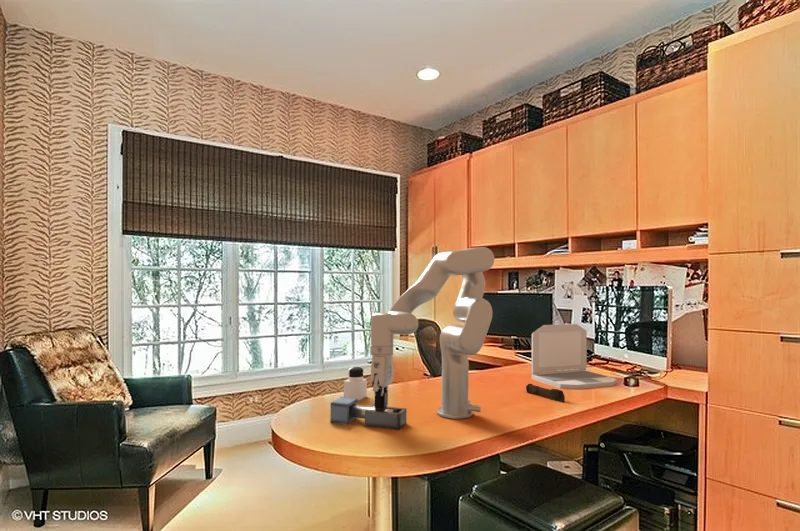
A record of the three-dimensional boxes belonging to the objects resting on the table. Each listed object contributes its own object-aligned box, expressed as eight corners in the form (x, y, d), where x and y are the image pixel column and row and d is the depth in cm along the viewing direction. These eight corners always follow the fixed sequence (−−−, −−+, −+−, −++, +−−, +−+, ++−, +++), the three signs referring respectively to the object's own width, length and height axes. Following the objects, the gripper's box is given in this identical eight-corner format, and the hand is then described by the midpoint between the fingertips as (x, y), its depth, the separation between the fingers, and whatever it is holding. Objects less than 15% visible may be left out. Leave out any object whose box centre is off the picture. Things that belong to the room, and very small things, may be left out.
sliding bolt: (394, 420, 152) (394, 392, 152) (390, 423, 148) (390, 394, 148) (355, 415, 156) (355, 388, 156) (350, 418, 152) (351, 391, 153)
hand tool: (525, 393, 196) (525, 382, 197) (532, 392, 198) (532, 381, 198) (559, 404, 180) (559, 392, 180) (566, 403, 181) (566, 391, 182)
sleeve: (406, 423, 152) (406, 408, 152) (399, 430, 145) (400, 414, 145) (372, 419, 156) (372, 405, 156) (364, 426, 149) (364, 410, 149)
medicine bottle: (366, 396, 186) (367, 366, 187) (359, 400, 180) (360, 370, 180) (350, 394, 189) (351, 365, 189) (343, 399, 182) (343, 368, 182)
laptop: (566, 391, 201) (566, 330, 202) (531, 379, 224) (531, 325, 224) (623, 385, 213) (623, 328, 214) (584, 375, 236) (584, 323, 237)
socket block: (356, 417, 158) (357, 398, 158) (346, 424, 150) (347, 404, 151) (341, 415, 160) (341, 396, 160) (330, 422, 152) (330, 402, 152)
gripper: (384, 354, 143) (383, 414, 142) (400, 347, 158) (399, 401, 158) (362, 353, 145) (361, 412, 145) (379, 346, 161) (378, 399, 160)
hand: (381, 406), depth 151 cm, fingers closed on sliding bolt, 2 cm apart
